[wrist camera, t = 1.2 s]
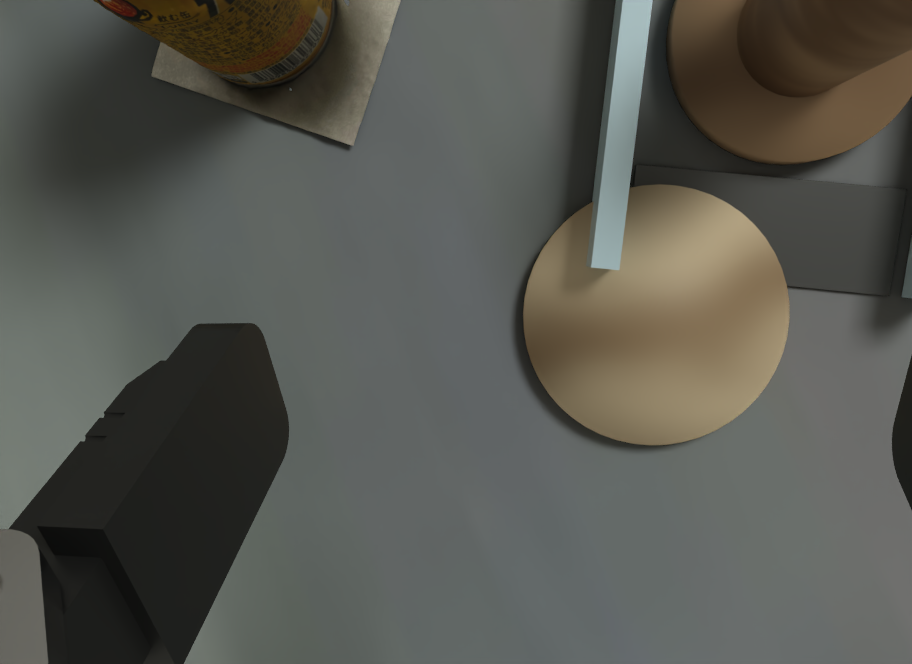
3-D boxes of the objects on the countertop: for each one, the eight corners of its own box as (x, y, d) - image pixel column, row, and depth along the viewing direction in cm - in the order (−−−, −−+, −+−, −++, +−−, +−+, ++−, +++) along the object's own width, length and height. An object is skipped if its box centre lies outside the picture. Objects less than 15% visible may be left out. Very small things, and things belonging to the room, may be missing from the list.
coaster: (477, 266, 30) (476, 267, 30) (708, 136, 29) (712, 134, 28) (598, 484, 31) (600, 489, 30) (829, 366, 30) (835, 368, 29)
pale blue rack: (928, 299, 29) (967, 304, 27) (584, 265, 30) (591, 267, 27) (995, -90, 27) (1043, -123, 25) (629, -116, 28) (640, -151, 26)
